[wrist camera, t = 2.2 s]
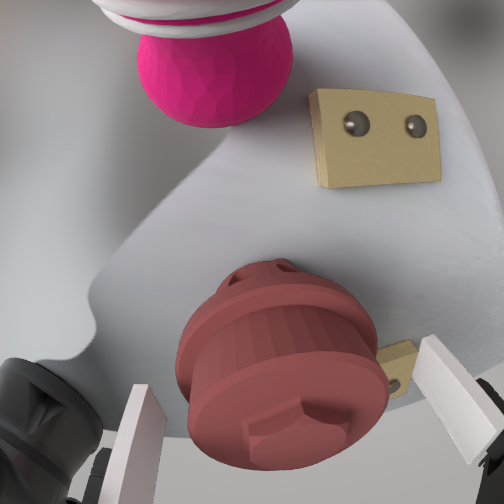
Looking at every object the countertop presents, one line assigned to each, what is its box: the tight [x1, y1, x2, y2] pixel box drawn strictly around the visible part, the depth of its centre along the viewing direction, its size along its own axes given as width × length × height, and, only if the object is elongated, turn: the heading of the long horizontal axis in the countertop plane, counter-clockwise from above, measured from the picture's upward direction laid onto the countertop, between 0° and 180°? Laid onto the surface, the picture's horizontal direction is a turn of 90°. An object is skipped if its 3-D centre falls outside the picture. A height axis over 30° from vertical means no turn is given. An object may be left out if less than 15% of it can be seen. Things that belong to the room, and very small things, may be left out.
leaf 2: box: [308, 89, 441, 189], centre depth 16 cm, size 9×6×2 cm, turn 97°
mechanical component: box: [176, 259, 390, 471], centre depth 14 cm, size 12×10×10 cm
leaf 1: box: [376, 340, 419, 400], centre depth 23 cm, size 9×6×2 cm, turn 97°
